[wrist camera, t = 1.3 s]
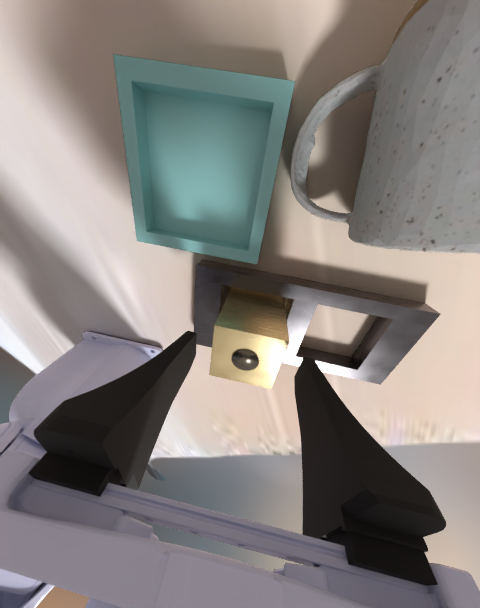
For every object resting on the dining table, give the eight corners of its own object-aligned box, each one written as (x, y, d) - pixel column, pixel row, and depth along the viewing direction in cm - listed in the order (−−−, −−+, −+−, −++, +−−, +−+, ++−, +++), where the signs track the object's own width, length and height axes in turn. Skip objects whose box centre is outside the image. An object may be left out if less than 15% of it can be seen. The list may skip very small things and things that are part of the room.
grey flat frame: (198, 333, 20) (193, 343, 18) (202, 259, 15) (196, 265, 14) (372, 371, 19) (380, 384, 17) (425, 303, 15) (440, 314, 13)
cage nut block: (226, 325, 19) (209, 375, 13) (232, 284, 16) (214, 326, 11) (271, 335, 18) (271, 389, 13) (283, 295, 16) (289, 342, 11)
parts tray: (149, 236, 15) (137, 240, 14) (133, 72, 11) (113, 54, 9) (258, 258, 15) (257, 264, 13) (291, 96, 10) (295, 81, 9)
